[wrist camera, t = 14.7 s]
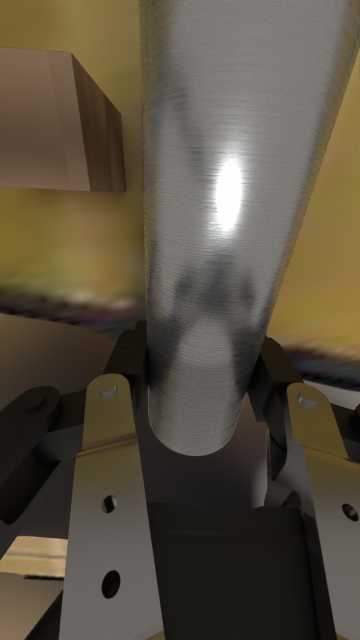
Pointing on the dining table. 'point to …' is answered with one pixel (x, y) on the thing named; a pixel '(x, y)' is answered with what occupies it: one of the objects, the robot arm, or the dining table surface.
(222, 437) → the axle
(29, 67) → the brown block
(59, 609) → the robot arm
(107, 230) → the dining table surface
